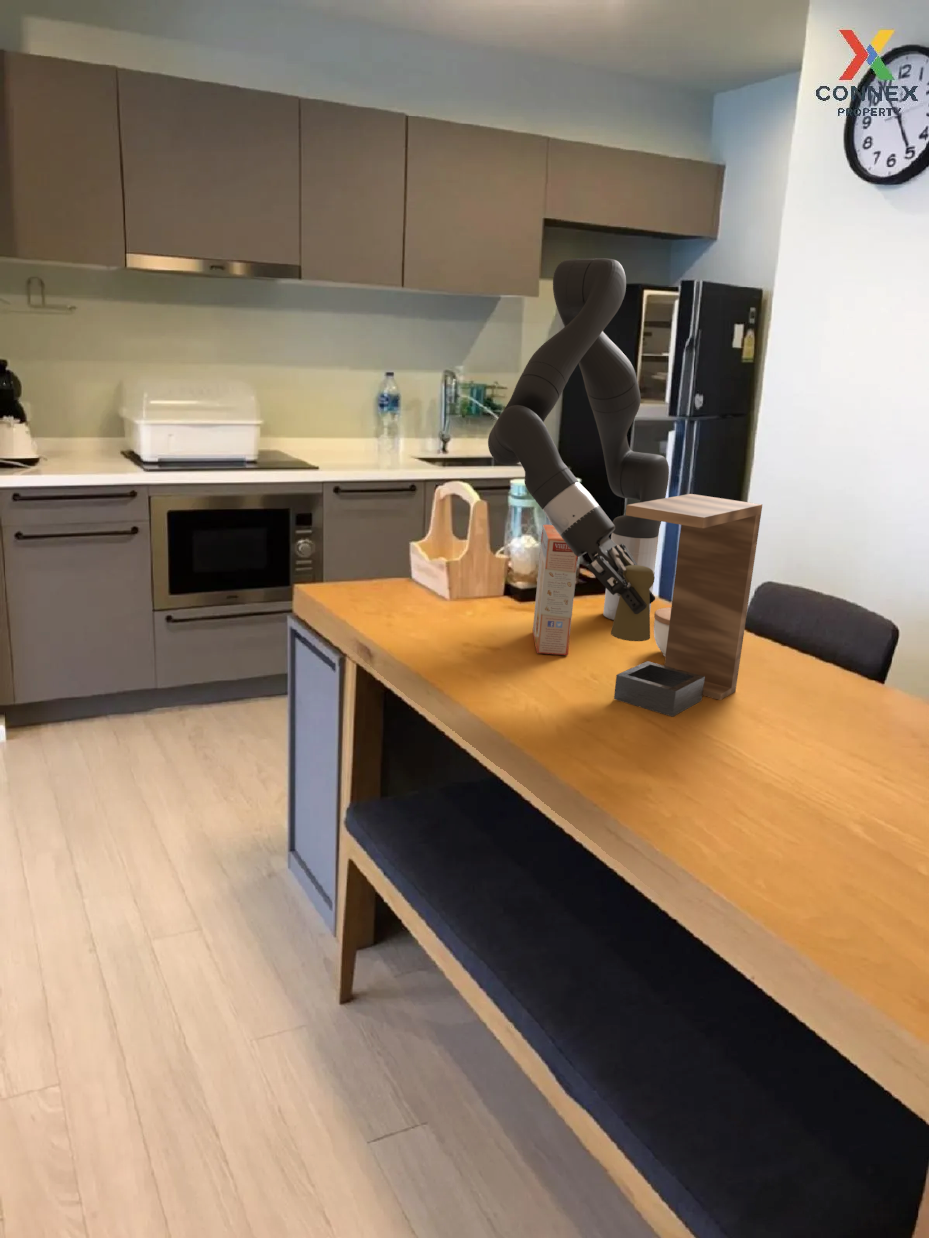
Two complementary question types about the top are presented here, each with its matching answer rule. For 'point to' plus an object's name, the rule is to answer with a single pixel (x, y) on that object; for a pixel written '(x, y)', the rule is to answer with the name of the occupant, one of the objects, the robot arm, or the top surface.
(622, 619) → the cork
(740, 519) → the shelf
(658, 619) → the lidded jar
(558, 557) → the cracker box
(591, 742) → the top surface
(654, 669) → the socket
